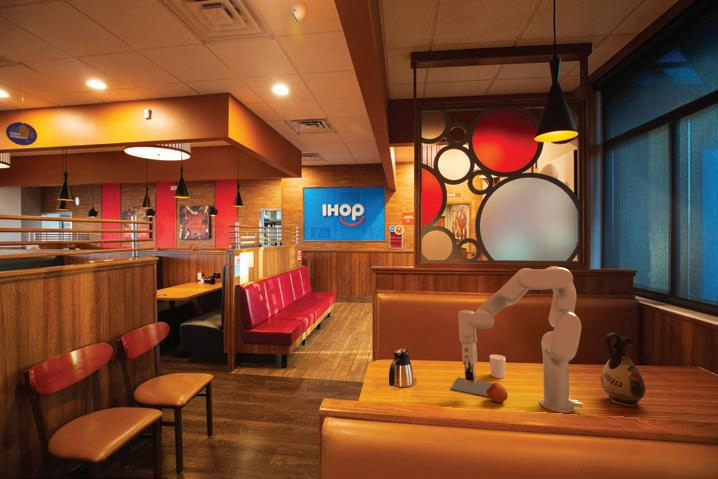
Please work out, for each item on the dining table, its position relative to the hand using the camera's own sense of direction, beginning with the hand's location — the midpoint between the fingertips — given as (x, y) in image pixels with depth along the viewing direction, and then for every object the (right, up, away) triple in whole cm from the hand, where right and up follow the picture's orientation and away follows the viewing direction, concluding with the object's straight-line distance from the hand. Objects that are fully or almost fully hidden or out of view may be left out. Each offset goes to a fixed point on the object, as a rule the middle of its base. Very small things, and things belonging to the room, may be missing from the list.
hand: (470, 377), depth 152 cm
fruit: (+11, -9, -4) cm, 15 cm away
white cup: (+23, -9, +25) cm, 35 cm away
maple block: (0, -2, 0) cm, 2 cm away
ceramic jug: (+65, -9, -5) cm, 65 cm away
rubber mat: (+5, -9, +11) cm, 15 cm away
